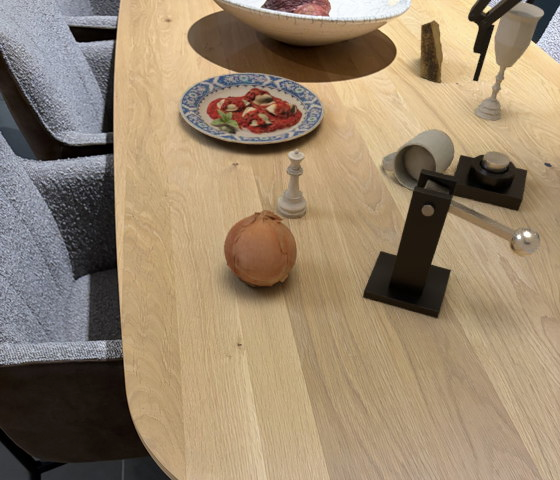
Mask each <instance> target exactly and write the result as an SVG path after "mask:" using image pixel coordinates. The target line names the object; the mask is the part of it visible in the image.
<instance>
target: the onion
mask: <svg viewBox="0 0 560 480" xmlns="http://www.w3.org/2000/svg"><path fill="white" fill-rule="evenodd" d="M282 221H284V219H283V218H281V216H279V215H277V214H275V212H274V211H273V212H272V211H270V210H268V209H263V210H261V211H255V212H254V213H253V214H251V215H249V216H246V217H244V218H242V219H240V220H239V221H237V222H235V224H234V225H232V226H231V228H229V230H228V232H227V235H226V237H225V241H224V244H223V254H224V259H225V261H226V265H227V266H228V268H229V269H230V271H231V272H232V273H233V274H234V275H235V276H236V277H237V278H238V280H239V281H240V282H241V283H242V284H245V285H248V286H250V287H254V288H260V287H262V288H265V287H268V288H269V287H270V288H272V287H273V286H274V284H277V283H278V282H281V283H283V282H284V281H286V279H288V277H289V276H290V273H291V271H292V270H293V269H294V266H295V265H296V261H297V256H298V248H297V242H296V238H295V236H294V234H293V233H292V231H291V229H289V227H288V226H287V225H285V223H284V222H282Z"/></svg>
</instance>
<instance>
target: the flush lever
mask: <svg viewBox="0 0 560 480" xmlns="http://www.w3.org/2000/svg"><path fill="white" fill-rule="evenodd" d="M423 188H425V189H429V190H433V191H437V192H441V193H446V194H448V193H449V189H447V188H445V187H443V186H441V185H439V184H437V183H435V182H433V181H431V180H428V181H427V182H426V184H425V186H424V187H423ZM448 213H450V214H452V215H454V216H456V217H457V218H460V219H462V220H464V221H466V222H469V223H470V224H473V225H475V226H476V227H478V228H480V229H483V230H485V231H487V232H488V233H491V234H493V235H495V236H497V237H499V238H501V239H503V240H505V241H507V242H508V246H509V249H510V251H511V252H512V254H514V255H516V256H517V257H523V258H524V257H529V256H531V255H533V254H535V253H536V252H537V251H538V249H539V247H540V245H541V236H540V234H539V233H538V231H537V230H536V229H534V228H532V227H529V226H521V227H519V228H517V229H513V228H511V227H509V226H507V225H505V224H503V223H501V222H500V221H497V220H495V219H493V218H491V217H488V216H487V215H485V214H483V213H480V212H479V211H476V210H474V209H472V208H470V207H468V206H466V205H464V204H462V203H460V202H458V201H456V200H453V199H452V201H451V204H450V207H449V210H448Z"/></svg>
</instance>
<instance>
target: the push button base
mask: <svg viewBox="0 0 560 480" xmlns="http://www.w3.org/2000/svg"><path fill="white" fill-rule="evenodd" d="M484 155H485V154H479V155H477V156H475V157H472V156H468V155H463V154H460V156H459V158H458V162H457V164H456V168H455V171H454V174H453V176H455V177H458V181H457V185H456V188H455V191H454V194H453V197H457V198H462V199H466V200H470V201H475V202H479V203H482V204H487V205H491V206H495V207H499V208H504V209H508V210H512V211H515V212H518V211H519V210H520V206H521V205H522V202H523V199H524V195H525V194H524V193H525V188H526V183H527V182H526V181H527V176H528V170H527V169H524V168H519V167H517V166H516V165H515V164H514V163H513V162H512V161H511V160H510V162H509V165H508V167H507V170H506V172H505V173H504V174H493V173H489V172H487V171H485V170H483V169H482V168H481V163H482V160H483V157H484Z"/></svg>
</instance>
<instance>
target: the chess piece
mask: <svg viewBox="0 0 560 480" xmlns="http://www.w3.org/2000/svg"><path fill="white" fill-rule="evenodd" d="M287 158H288V160H289V161H290V164H289V166H287V167H286V174H287V175H289V181H288V185H287V188H286V189H285V190H284V191H283V194H282V195H280V196H279V198H278V200H277V206H276V209H277V212H278V214H279V215H280V216H282V217H284V218H287V219H299V218H302V217H303V216H305V214H306V213H307V203H308V202H307V200H306V198H305V197H304V196H303V192H302V191H301V190H300V176H302V175H304V168H303V167H302V166H301V163H302V162H303V160H304V159H305V158H306V157H305V153H303V151H300V150H299V149H298V148H295V149H294V150H291V151H289V152H288V153H287Z"/></svg>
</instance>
